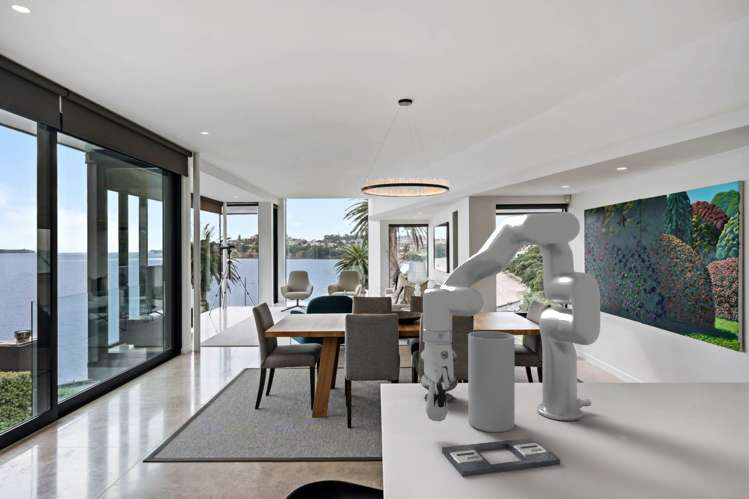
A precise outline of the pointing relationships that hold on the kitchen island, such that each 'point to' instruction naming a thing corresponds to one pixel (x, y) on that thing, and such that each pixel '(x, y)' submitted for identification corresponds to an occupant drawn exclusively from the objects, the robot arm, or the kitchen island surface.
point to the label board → (475, 464)
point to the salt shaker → (435, 412)
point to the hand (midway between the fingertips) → (437, 406)
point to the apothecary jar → (451, 384)
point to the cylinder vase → (491, 381)
